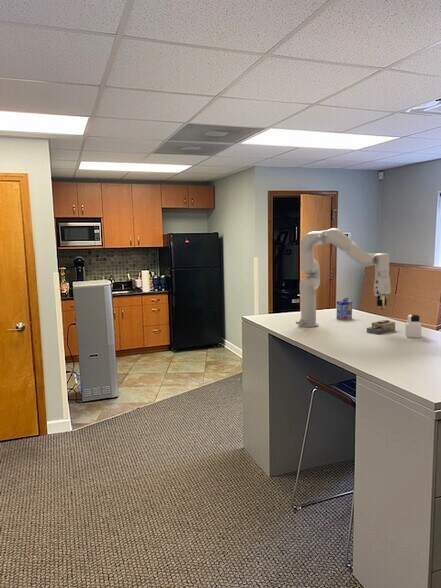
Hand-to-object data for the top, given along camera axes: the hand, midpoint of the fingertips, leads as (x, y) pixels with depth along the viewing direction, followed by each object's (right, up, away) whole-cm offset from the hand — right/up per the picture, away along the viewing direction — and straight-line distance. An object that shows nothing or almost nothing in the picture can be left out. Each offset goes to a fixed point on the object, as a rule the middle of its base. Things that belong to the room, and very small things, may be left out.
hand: (381, 305), depth 248 cm
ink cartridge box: (-9, -10, +44) cm, 46 cm away
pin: (0, -2, 0) cm, 2 cm away
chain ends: (0, -15, +2) cm, 15 cm away
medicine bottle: (+13, -17, -12) cm, 25 cm away
